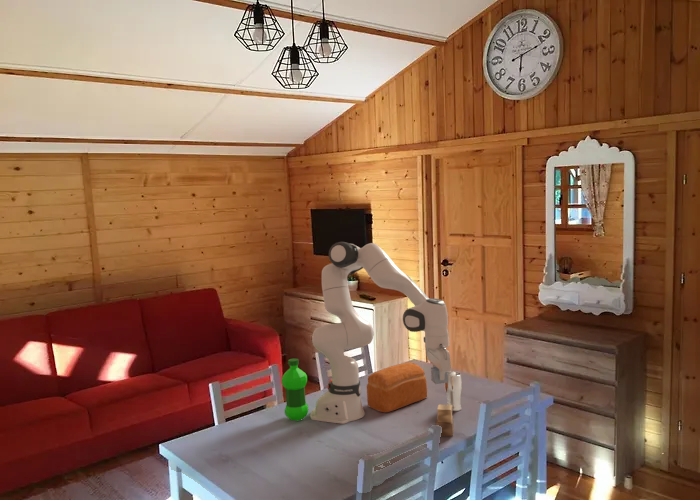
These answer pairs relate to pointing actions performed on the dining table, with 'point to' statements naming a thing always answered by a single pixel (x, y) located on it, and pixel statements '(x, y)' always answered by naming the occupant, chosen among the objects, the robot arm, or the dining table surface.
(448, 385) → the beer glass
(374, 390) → the bread
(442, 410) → the oak block
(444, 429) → the walnut base block
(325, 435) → the dining table surface
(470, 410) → the dining table surface
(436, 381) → the slate block
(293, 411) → the plastic bottle
